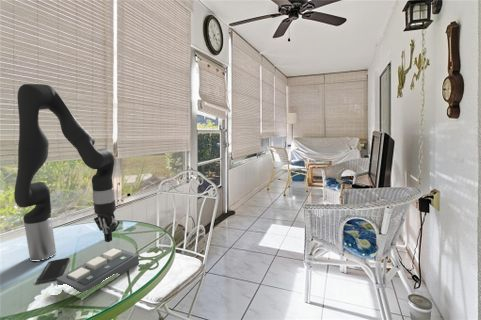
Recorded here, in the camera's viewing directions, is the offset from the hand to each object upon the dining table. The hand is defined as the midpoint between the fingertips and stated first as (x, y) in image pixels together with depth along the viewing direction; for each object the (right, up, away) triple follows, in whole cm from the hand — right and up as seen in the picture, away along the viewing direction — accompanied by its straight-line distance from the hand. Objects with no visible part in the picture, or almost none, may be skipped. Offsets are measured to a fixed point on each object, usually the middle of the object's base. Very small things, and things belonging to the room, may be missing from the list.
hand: (108, 241), depth 103 cm
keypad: (-1, -12, -4) cm, 13 cm away
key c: (0, -8, +3) cm, 8 cm away
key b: (-3, -9, -4) cm, 10 cm away
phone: (-21, -12, 0) cm, 25 cm away
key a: (-6, -11, -10) cm, 16 cm away
